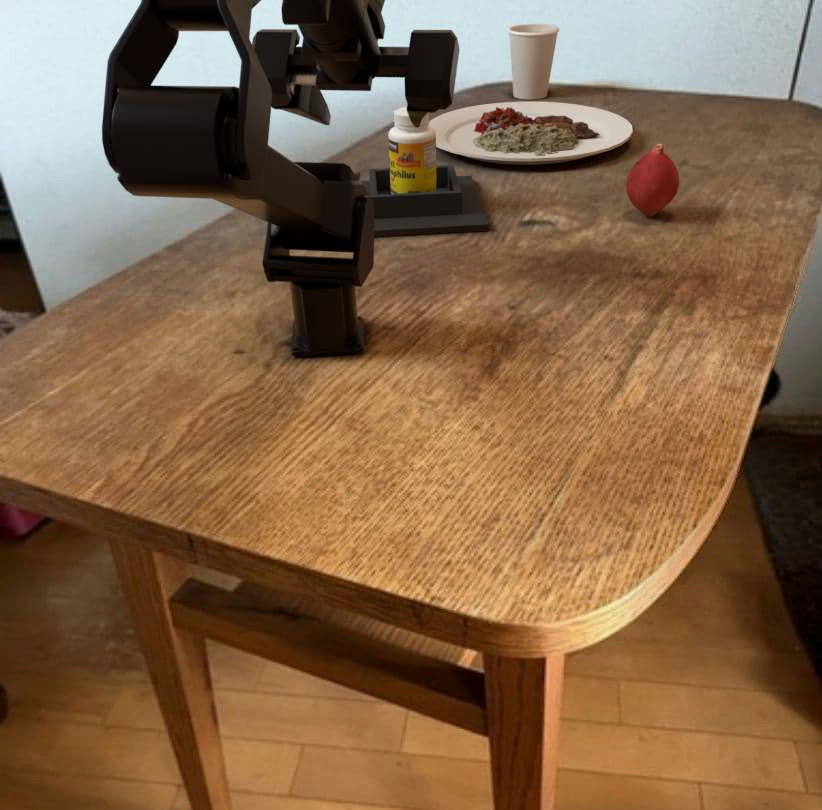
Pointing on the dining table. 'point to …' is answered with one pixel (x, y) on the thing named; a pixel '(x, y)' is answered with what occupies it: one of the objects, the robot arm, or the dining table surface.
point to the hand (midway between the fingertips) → (372, 121)
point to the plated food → (529, 132)
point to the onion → (652, 181)
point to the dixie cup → (532, 59)
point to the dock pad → (426, 205)
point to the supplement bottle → (412, 155)
